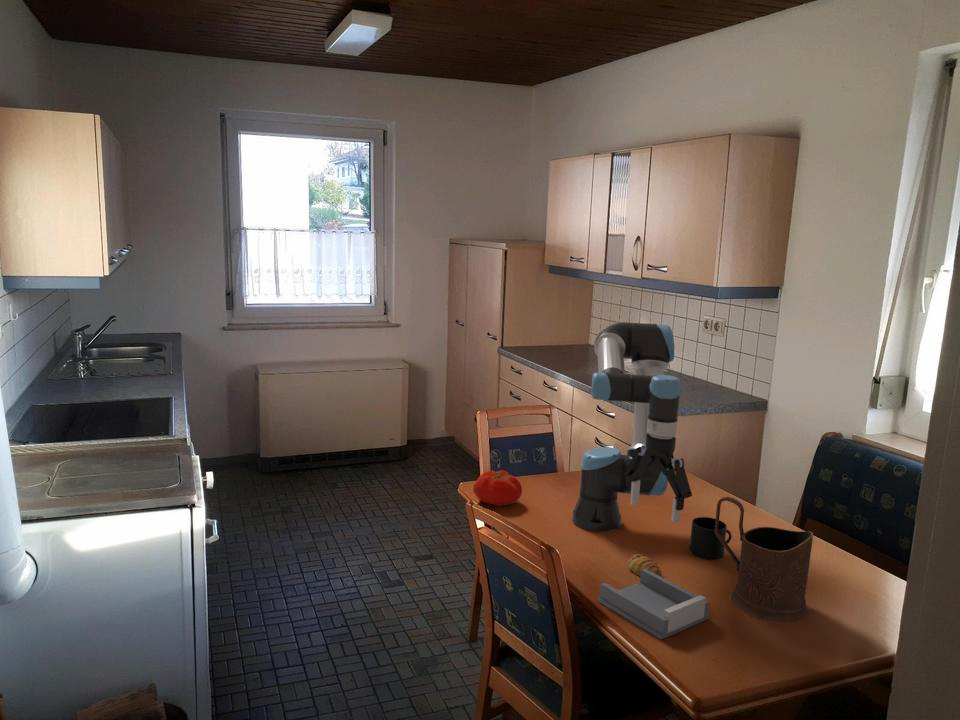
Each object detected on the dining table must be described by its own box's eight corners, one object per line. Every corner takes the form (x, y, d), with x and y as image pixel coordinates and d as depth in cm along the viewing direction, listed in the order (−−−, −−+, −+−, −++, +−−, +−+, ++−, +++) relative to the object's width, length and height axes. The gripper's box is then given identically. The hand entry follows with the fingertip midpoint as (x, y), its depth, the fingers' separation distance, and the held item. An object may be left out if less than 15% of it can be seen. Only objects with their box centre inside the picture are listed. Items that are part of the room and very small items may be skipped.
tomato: (507, 515, 233) (509, 485, 232) (464, 503, 242) (465, 474, 240) (529, 501, 245) (530, 473, 244) (487, 490, 254) (488, 463, 252)
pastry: (667, 578, 196) (668, 564, 195) (649, 583, 192) (650, 570, 192) (642, 563, 204) (643, 550, 203) (624, 569, 200) (625, 556, 199)
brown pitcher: (802, 632, 171) (815, 531, 167) (699, 601, 184) (708, 506, 179) (814, 600, 187) (827, 506, 182) (718, 573, 199) (727, 485, 195)
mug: (738, 559, 208) (741, 529, 207) (698, 561, 206) (701, 530, 204) (721, 545, 217) (724, 516, 216) (683, 546, 215) (686, 517, 214)
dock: (597, 601, 182) (599, 578, 180) (644, 584, 191) (646, 562, 190) (661, 639, 166) (663, 615, 165) (708, 618, 175) (711, 595, 174)
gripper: (614, 425, 199) (609, 500, 202) (692, 449, 179) (684, 531, 183) (633, 421, 203) (627, 494, 207) (711, 445, 184) (702, 525, 188)
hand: (654, 512), depth 195 cm, fingers open, 13 cm apart
